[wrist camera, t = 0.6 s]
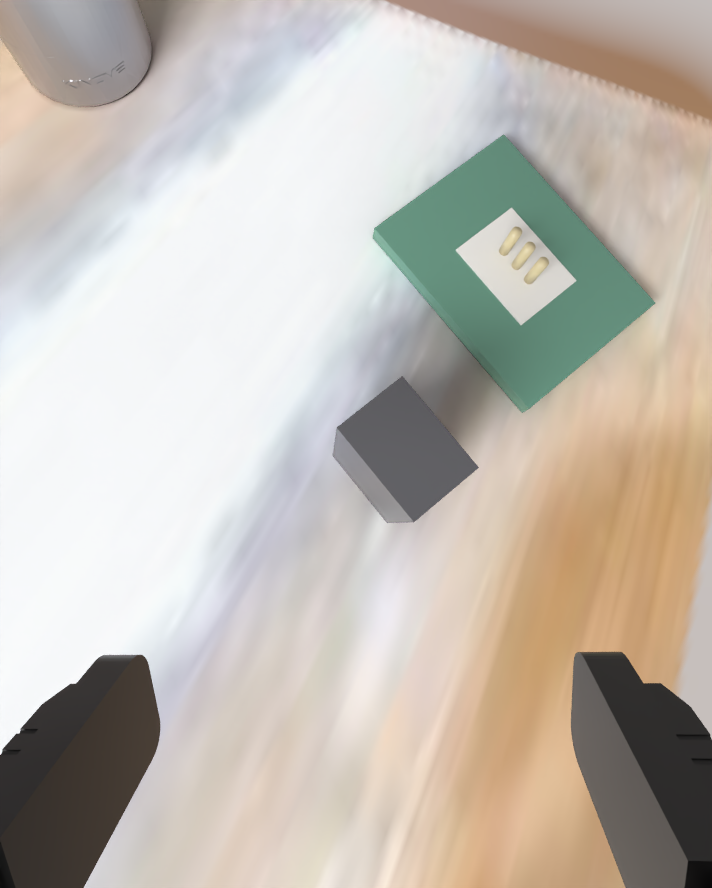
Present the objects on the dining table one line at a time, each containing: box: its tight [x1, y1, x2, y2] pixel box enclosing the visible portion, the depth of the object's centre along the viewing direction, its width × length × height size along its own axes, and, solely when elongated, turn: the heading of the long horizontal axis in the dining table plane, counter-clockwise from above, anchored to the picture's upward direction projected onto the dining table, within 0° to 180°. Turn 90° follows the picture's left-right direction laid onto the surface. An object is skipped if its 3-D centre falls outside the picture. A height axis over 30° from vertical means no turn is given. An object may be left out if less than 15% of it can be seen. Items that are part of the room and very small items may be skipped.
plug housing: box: [333, 376, 479, 523], centre depth 29 cm, size 6×4×10 cm
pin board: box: [373, 135, 655, 413], centre depth 35 cm, size 16×12×4 cm
